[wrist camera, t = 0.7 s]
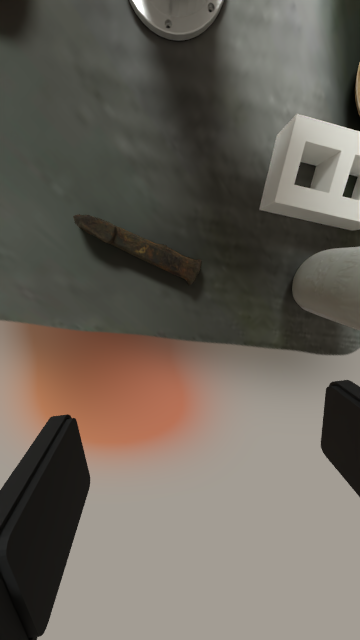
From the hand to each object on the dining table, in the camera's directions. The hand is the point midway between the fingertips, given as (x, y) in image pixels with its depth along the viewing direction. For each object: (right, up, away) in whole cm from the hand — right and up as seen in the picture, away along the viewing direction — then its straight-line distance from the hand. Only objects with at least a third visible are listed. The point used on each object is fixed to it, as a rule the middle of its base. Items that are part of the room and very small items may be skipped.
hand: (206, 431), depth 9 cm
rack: (+20, +24, +27) cm, 41 cm away
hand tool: (-7, +15, +27) cm, 32 cm away
